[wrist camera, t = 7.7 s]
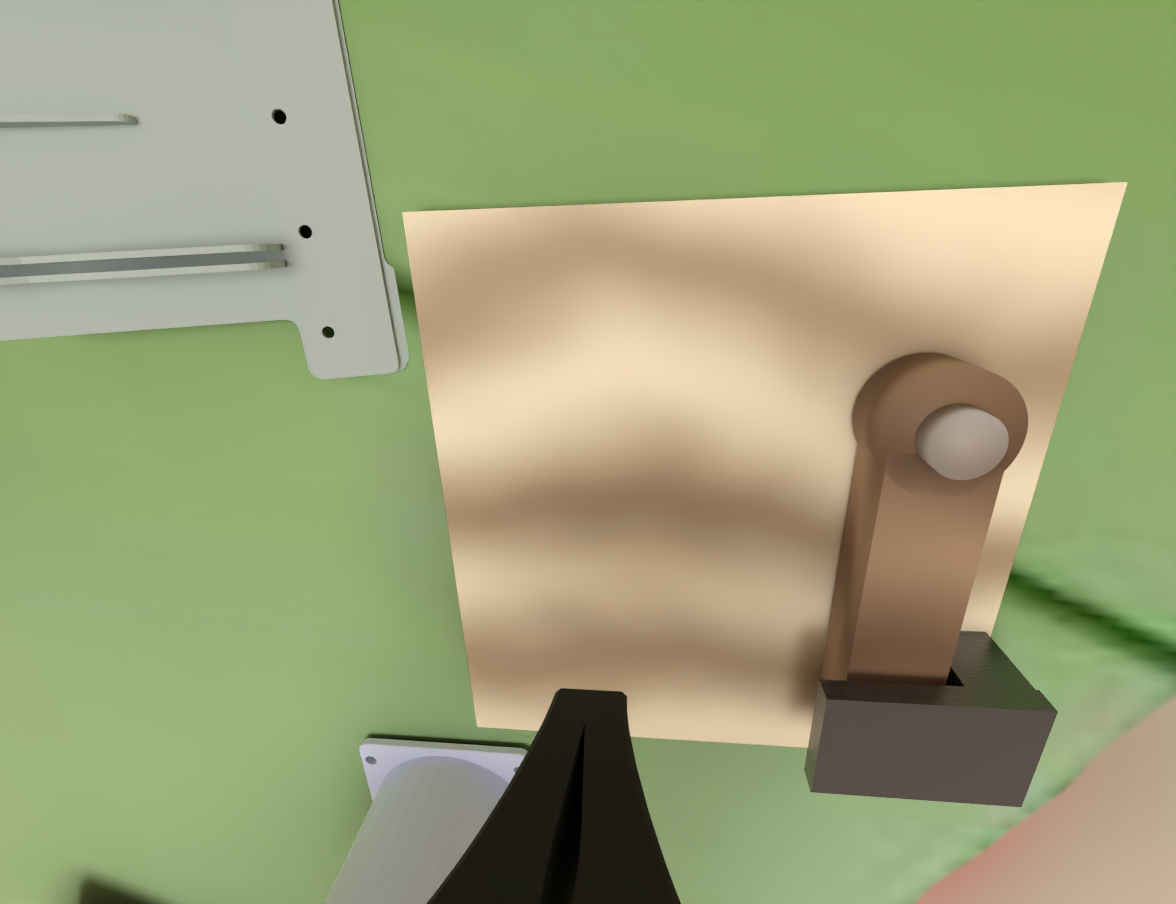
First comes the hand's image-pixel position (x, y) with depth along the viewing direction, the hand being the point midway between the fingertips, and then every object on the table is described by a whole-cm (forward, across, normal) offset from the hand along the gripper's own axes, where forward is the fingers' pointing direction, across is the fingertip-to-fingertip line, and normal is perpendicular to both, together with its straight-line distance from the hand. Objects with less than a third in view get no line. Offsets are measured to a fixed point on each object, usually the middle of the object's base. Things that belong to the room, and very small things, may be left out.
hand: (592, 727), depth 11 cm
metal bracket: (+10, +14, -12) cm, 21 cm away
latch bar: (+8, -9, +1) cm, 12 cm away
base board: (+9, -4, 0) cm, 10 cm away
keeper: (+8, -10, +6) cm, 14 cm away
